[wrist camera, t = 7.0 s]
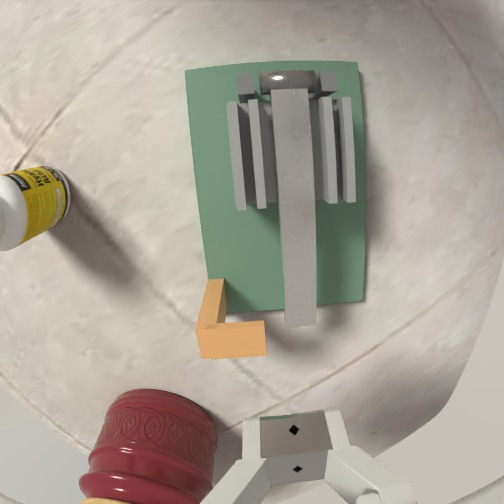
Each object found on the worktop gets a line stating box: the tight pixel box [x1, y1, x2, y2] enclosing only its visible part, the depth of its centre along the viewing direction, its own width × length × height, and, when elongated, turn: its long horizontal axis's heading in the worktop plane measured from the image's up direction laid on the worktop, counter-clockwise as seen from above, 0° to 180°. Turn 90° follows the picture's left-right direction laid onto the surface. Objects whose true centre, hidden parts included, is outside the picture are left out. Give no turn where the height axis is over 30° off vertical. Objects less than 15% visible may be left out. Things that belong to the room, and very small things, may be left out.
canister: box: [79, 389, 217, 504], centre depth 24 cm, size 13×13×18 cm
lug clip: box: [195, 278, 267, 359], centre depth 22 cm, size 2×4×7 cm, turn 95°
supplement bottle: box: [0, 166, 70, 251], centre depth 19 cm, size 5×5×10 cm
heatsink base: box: [185, 61, 366, 314], centre depth 20 cm, size 19×12×6 cm, turn 5°
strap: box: [259, 70, 317, 328], centre depth 18 cm, size 16×3×1 cm, turn 5°
